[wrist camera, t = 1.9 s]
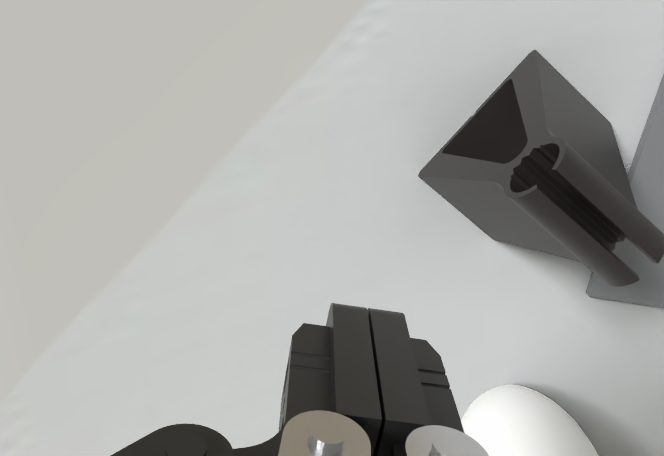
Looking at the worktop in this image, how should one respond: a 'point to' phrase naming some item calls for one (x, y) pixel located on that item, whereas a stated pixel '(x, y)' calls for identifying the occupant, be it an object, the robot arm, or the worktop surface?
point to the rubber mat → (655, 204)
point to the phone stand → (545, 174)
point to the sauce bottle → (523, 425)
